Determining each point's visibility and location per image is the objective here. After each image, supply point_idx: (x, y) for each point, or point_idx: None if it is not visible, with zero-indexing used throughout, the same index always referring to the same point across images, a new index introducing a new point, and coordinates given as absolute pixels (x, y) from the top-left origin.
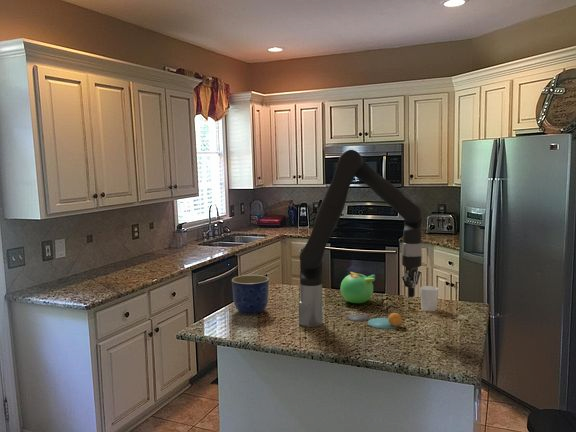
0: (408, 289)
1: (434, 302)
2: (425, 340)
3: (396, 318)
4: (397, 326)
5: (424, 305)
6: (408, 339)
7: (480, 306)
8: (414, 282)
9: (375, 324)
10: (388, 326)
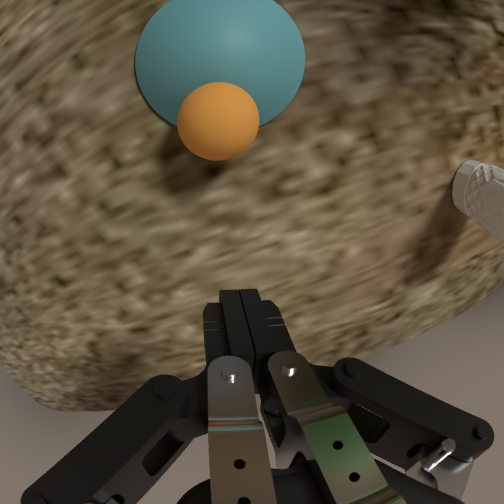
0: (207, 353)
1: (477, 222)
2: (128, 297)
3: (187, 144)
4: None
5: (469, 181)
6: (91, 246)
7: (487, 292)
8: (273, 446)
9: (176, 32)
10: (183, 97)
